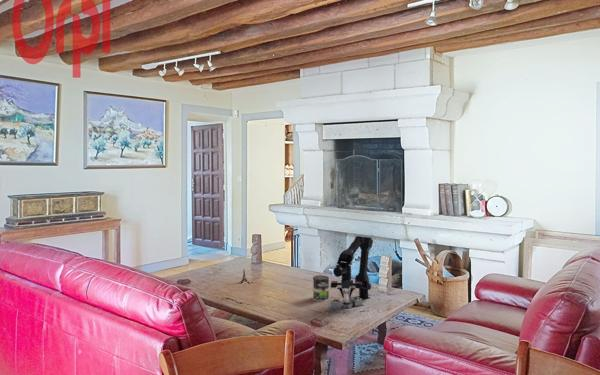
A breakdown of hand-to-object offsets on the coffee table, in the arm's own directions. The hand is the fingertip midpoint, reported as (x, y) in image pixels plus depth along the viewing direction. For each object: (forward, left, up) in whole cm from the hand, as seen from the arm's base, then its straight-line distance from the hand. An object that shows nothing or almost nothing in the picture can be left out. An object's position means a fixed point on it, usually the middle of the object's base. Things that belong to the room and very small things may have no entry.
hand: (346, 298), depth 278 cm
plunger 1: (0, -7, -4) cm, 8 cm away
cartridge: (0, 0, -2) cm, 2 cm away
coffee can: (-20, -8, -5) cm, 22 cm away
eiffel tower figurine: (-76, -44, -6) cm, 88 cm away
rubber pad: (+5, -12, -5) cm, 14 cm away
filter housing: (0, 0, -5) cm, 5 cm away
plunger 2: (0, +7, -5) cm, 8 cm away
